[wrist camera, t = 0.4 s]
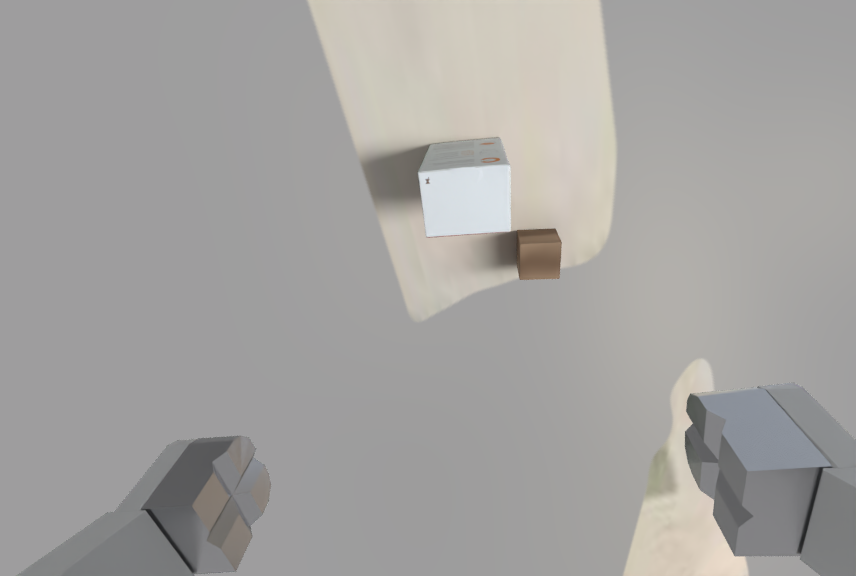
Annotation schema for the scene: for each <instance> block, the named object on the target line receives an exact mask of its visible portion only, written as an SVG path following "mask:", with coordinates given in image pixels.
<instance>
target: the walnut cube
mask: <svg viewBox="0 0 856 576" xmlns="http://www.w3.org/2000/svg"><path fill="white" fill-rule="evenodd" d="M561 245H562V242H561V240H560V238H559V236H558V233H557V231H556V229H535V230H517V268H518V273H519V278H520V280H529V279H559V277H560V276H559V275H560V261H561Z"/></svg>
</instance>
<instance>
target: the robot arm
mask: <svg viewBox="0 0 856 576" xmlns="http://www.w3.org/2000/svg"><path fill="white" fill-rule="evenodd" d="M686 412H687V414H688V416H689V417H690V419H691V421H692V423H693V424H692V425H691V426H690V427H689V428H688V429H687V430H686V431H685V450H686V455H687V460H688V464H689V467H690V469H691V472H692V475H693V477H694V479H695V481H696V483H697V485H698V487H699V489H700V490H701V491H702V492H704V493H705V494H707V495H708V496H709V497H711V498H712V499H714V509H713V516H714V518H715V520H716V522H717V524H718V526H719V527H720V529H721V531H722V533H723V535H724V537H725V539H726V541H727V543H728V544H729V546H730V548H731V550H732V552H733V554H734V556H800V560H801V561H803V562H804V563H805V564H806V565H808V566H809V567H810V568H811V569H813V570H814V571H815V572H816V573H818V574H819V575H820V576H856V439H855V438H854V437H853V436H852V435H851V434H849V432H848V431H847V430H846V429H845V428H844V427H843V426H842V425H841V424H840V423H838V421H836V420H835V419H834V418H833V417H832V416H831V415H830V414H829V413H828V412H827V411H826V410H825V409H824V408H823V407H822V406H821V405H820V404H819V403H818V402H817V401H816V400H815V399H814V398H813V397H812V396H811V395H810V394H809V393H808V392H807V391H806V390H805V389H804V388H803V387H802V386H800V385H798V384H795V383H787V384H777V385H768V386H758V387H757V388H755V387H751V388H741V389H732V390H722V391H712V392H702V393H692V394H690V395H689V397H688V400H687V409H686ZM255 451H256V448H255V446H254V445H253V443H252V442H251V440H250V439H249V437H245V436H229V437H214V438H199V439H194V440H193V439H192V440H177V441H175V442H173V443H171V444H169V445H168V446H167V447H166V448H165V449H164V451H163V452H162V453H161V454H160V456H159V457H158V458H157V459H156V460H155V462H154V463H153V464H152V466H151V467H150V468H149V469H148V470H147V472H146V473H145V474H144V475H143V477H142V478H141V479H140V481H139V482H138V483H137V484H136V485H135V487H134V488H133V489H132V490H131V492H130V493H129V494H128V495H127V496H126V498H125V499H124V500H123V501H122V503H121V504H120V505H119V506H118V508H117V509H116V510H115V511H114V512H110V513H106V514H104V515H103V516H101V517H100V518H99V519H97V520H96V521H94V522H93V523H91V524H90V525H88V526H87V527H85V528H84V529H83V530H81V531H80V532H78V533H77V534H76V535H74V536H73V537H71V538H70V539H68V540H67V541H65V542H64V543H62V544H61V545H60V546H58V547H57V548H55V549H54V550H52V551H51V552H50V553H48V554H47V555H45V556H44V557H42V558H41V559H39V560H38V561H37V562H35V563H34V564H32V565H31V566H29V567H28V568H26V569H25V570H24V571H22V572H21V573H19V574H18V575H17V576H194V574H205V573H221V572H235V571H236V570H237V568H238V566H239V564H240V562H241V560H242V558H243V555H244V553H245V551H246V549H247V547H248V545H249V543H250V541H251V539H252V531H251V525H252V524H253V523H254V522H255V521H256V520H257V519H258V518H259V517H261V516H262V515H263V513H264V510H265V508H266V506H267V504H268V501H269V496H270V489H271V482H270V477H269V473H268V471H267V469H266V467H265V465H264V464H262V463H261V462H259V461H258V460H256V459H255V458H253V457H254V454H255Z"/></svg>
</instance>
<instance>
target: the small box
mask: <svg viewBox="0 0 856 576" xmlns="http://www.w3.org/2000/svg"><path fill="white" fill-rule="evenodd" d="M418 180H419V187H420V194H421V201H422V209H423V216H424V224H425V232H426V237H427V238H431V237H444V236H459V235H472V234H487V233H501V232H510V231H511V174H510V164H509V161H508V159H507V156H506V153H505V149H504V146H503V143H502V140H501V138H488V139H477V140H467V141H457V142H447V143H438V144H431V145H430V146H429V149H428V151H427V153H426V155H425V157H424V160H423V162H422V164H421V166H420V169H419V171H418Z"/></svg>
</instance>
